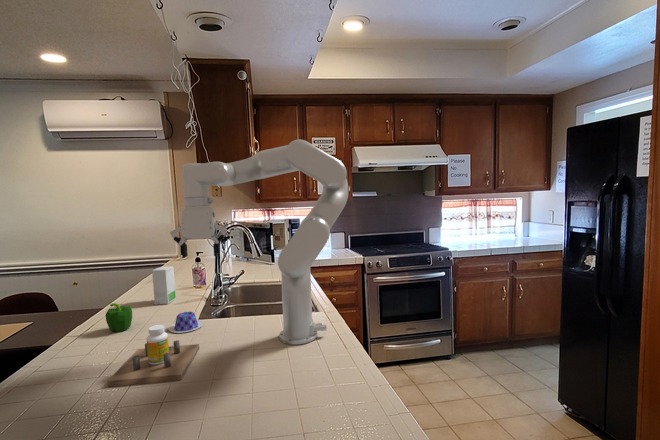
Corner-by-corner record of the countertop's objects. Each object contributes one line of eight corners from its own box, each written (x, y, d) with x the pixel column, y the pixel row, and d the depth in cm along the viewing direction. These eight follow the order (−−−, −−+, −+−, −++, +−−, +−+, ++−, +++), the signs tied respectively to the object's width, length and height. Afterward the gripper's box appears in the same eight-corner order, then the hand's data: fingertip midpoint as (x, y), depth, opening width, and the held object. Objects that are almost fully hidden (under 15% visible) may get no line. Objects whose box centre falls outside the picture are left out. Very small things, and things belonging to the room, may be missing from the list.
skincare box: (168, 304, 153) (165, 269, 152) (153, 304, 153) (150, 270, 152) (176, 298, 161) (174, 265, 160) (162, 298, 161) (160, 266, 160)
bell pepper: (139, 325, 130) (136, 299, 129) (124, 334, 121) (121, 306, 121) (118, 324, 130) (115, 299, 130) (101, 334, 122) (99, 306, 121)
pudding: (194, 334, 120) (193, 320, 119) (161, 334, 121) (160, 320, 120) (209, 321, 132) (208, 308, 131) (179, 321, 133) (178, 308, 132)
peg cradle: (199, 348, 108) (198, 333, 108) (181, 379, 90) (180, 361, 90) (138, 353, 106) (137, 338, 105) (108, 386, 88) (106, 367, 88)
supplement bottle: (160, 366, 95) (158, 331, 94) (143, 364, 96) (141, 330, 95) (173, 356, 100) (171, 324, 99) (157, 355, 101) (154, 323, 100)
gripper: (227, 201, 114) (230, 252, 115) (172, 203, 112) (176, 255, 113) (223, 202, 106) (226, 257, 108) (164, 204, 104) (168, 260, 106)
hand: (200, 256), depth 111 cm, fingers open, 9 cm apart
